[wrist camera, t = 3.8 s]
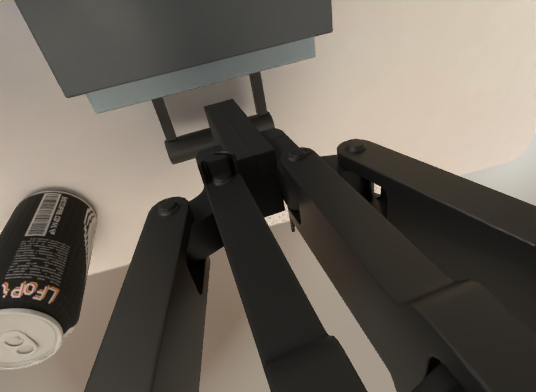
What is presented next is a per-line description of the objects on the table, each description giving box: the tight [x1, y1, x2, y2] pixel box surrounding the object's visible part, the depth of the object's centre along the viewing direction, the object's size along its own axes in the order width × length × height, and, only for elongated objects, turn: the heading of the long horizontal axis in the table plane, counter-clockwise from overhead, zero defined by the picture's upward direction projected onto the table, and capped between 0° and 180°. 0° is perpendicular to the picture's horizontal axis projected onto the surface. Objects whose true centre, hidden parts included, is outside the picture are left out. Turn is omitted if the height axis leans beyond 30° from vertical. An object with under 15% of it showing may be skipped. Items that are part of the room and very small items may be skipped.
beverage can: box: [0, 191, 97, 370], centre depth 22 cm, size 6×6×12 cm
